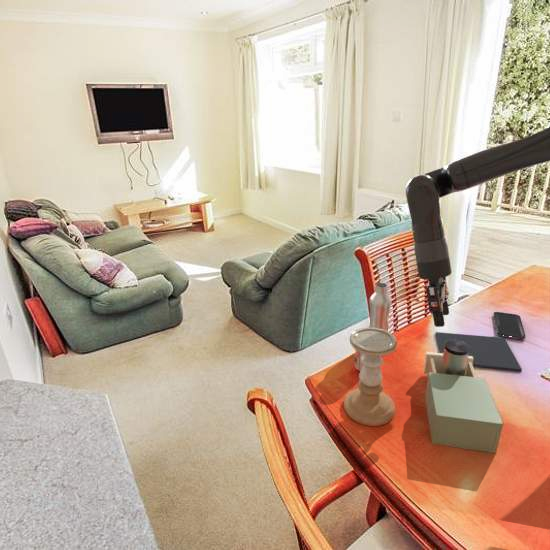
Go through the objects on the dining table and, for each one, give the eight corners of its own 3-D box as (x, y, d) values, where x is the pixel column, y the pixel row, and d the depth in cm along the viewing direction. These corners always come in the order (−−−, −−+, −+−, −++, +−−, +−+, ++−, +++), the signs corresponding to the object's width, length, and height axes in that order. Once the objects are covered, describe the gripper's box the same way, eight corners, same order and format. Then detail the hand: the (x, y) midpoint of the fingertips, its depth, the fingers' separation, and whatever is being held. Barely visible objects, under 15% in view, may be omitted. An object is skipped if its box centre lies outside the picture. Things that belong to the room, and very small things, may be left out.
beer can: (356, 361, 110) (357, 326, 105) (372, 364, 108) (375, 328, 104) (353, 371, 106) (354, 335, 101) (370, 374, 104) (372, 337, 100)
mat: (504, 339, 116) (504, 337, 116) (521, 371, 102) (522, 369, 102) (435, 334, 121) (435, 331, 121) (442, 363, 107) (442, 361, 107)
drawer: (423, 368, 104) (425, 349, 102) (467, 372, 102) (471, 353, 99) (429, 404, 91) (432, 384, 89) (480, 411, 88) (485, 390, 86)
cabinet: (425, 398, 95) (428, 372, 92) (479, 405, 92) (485, 378, 88) (432, 443, 82) (436, 415, 79) (496, 453, 79) (503, 424, 76)
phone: (519, 314, 127) (526, 337, 115) (519, 317, 128) (525, 340, 115) (493, 311, 130) (496, 332, 118) (492, 314, 131) (496, 335, 118)
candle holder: (405, 412, 91) (413, 342, 83) (368, 435, 85) (373, 361, 77) (369, 385, 100) (372, 319, 92) (333, 403, 95) (334, 335, 87)
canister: (460, 379, 98) (467, 340, 93) (464, 393, 93) (471, 353, 88) (437, 377, 99) (443, 338, 94) (440, 390, 94) (446, 351, 89)
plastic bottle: (378, 350, 114) (383, 291, 107) (362, 340, 120) (365, 284, 112) (393, 343, 118) (398, 285, 110) (376, 334, 123) (380, 278, 115)
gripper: (444, 261, 83) (455, 330, 86) (452, 249, 95) (461, 310, 97) (410, 265, 87) (421, 331, 90) (421, 253, 99) (431, 311, 101)
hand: (442, 320), depth 93 cm, fingers open, 8 cm apart
